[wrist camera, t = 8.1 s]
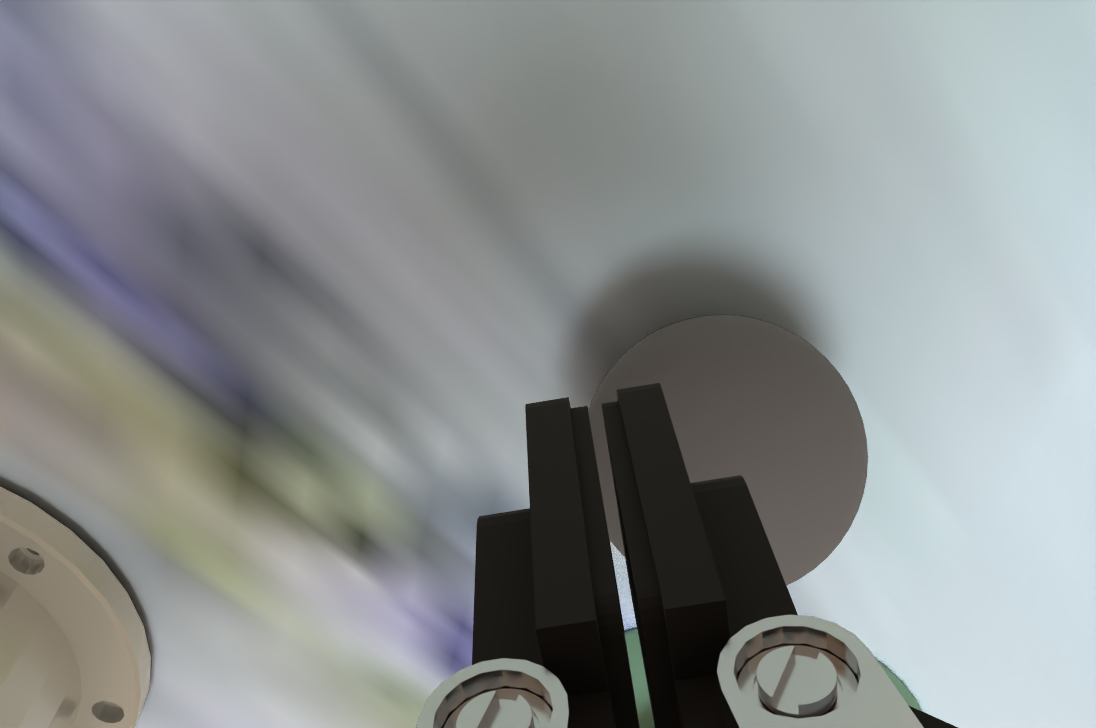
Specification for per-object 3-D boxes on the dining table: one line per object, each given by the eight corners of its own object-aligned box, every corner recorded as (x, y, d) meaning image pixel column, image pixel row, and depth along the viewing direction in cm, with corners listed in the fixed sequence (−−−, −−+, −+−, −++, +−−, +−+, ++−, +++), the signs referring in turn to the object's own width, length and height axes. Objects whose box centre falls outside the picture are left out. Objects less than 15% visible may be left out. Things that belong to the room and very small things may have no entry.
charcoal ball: (837, 249, 18) (763, 292, 24) (539, 368, 18) (539, 383, 24) (964, 549, 18) (858, 519, 24) (662, 675, 18) (631, 613, 24)
